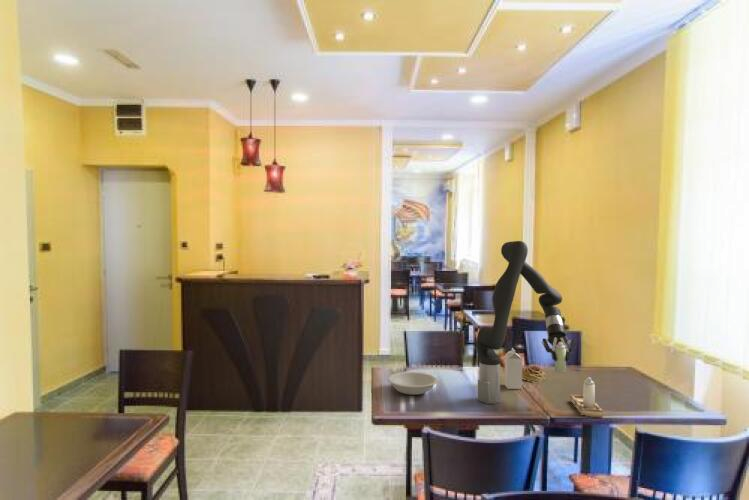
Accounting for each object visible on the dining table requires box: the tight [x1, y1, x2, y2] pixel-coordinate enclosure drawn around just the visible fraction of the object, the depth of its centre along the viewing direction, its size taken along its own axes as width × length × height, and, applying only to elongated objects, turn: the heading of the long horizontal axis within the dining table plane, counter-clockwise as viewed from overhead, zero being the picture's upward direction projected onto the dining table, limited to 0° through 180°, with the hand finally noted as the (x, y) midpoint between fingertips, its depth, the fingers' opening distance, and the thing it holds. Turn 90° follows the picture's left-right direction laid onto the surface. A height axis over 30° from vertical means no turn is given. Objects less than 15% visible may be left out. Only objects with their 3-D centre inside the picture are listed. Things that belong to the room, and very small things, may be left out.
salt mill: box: [582, 376, 596, 409], centre depth 190 cm, size 4×4×13 cm
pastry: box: [522, 364, 546, 382], centre depth 239 cm, size 13×15×8 cm
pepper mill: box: [554, 342, 567, 373], centre depth 197 cm, size 4×4×13 cm
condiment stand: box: [569, 394, 604, 418], centre depth 194 cm, size 18×8×3 cm, turn 171°
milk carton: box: [504, 347, 523, 390], centre depth 224 cm, size 7×7×19 cm
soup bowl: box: [387, 371, 439, 396], centre depth 215 cm, size 24×24×7 cm
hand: (561, 360), depth 195 cm, fingers closed on pepper mill, 4 cm apart
